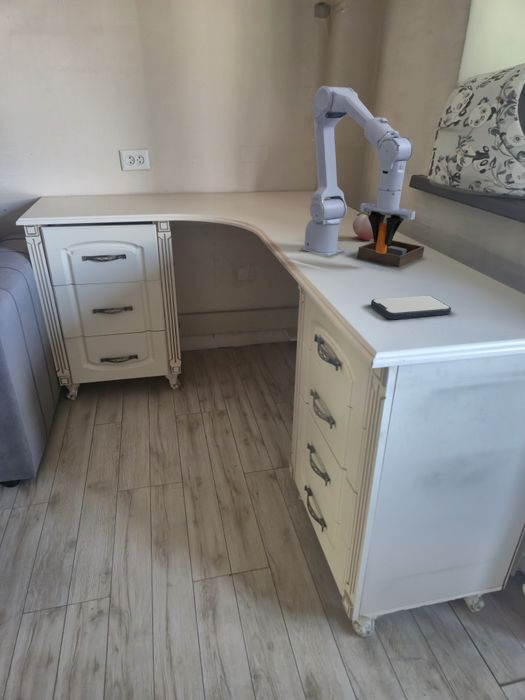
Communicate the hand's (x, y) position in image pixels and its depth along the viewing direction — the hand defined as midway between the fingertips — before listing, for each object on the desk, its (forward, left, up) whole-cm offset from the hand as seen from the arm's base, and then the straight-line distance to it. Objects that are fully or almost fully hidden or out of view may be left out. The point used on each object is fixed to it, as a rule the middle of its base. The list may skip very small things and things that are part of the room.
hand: (382, 243), depth 130 cm
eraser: (-4, +17, -7) cm, 19 cm away
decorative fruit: (-19, +26, -8) cm, 33 cm away
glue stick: (0, 0, -2) cm, 2 cm away
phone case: (+19, -20, -8) cm, 29 cm away
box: (-4, +14, -8) cm, 16 cm away
